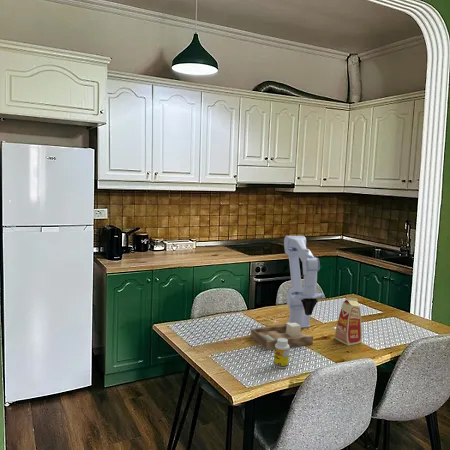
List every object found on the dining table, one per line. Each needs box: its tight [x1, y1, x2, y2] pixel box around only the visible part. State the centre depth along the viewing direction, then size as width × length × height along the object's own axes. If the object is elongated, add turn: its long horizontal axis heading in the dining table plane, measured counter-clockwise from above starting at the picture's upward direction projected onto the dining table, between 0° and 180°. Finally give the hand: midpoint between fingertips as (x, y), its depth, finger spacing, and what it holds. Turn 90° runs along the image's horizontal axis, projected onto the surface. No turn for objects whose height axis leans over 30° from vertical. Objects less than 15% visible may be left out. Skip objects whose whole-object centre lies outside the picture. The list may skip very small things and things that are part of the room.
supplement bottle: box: [273, 338, 291, 369], centre depth 165 cm, size 6×6×10 cm
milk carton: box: [333, 296, 363, 346], centre depth 194 cm, size 9×9×20 cm
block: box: [286, 323, 302, 337], centre depth 194 cm, size 4×4×4 cm
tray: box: [250, 324, 314, 351], centre depth 192 cm, size 22×16×4 cm
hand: (308, 314), depth 196 cm, fingers closed
